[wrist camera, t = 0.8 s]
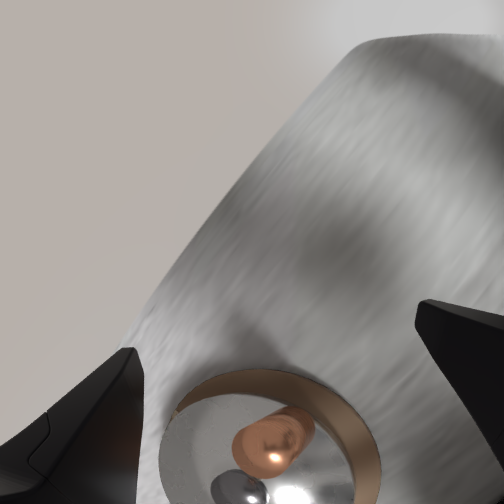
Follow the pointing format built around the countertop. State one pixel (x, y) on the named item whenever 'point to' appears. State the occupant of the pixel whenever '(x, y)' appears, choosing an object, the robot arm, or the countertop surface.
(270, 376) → the wheel base
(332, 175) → the countertop surface
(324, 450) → the handwheel
